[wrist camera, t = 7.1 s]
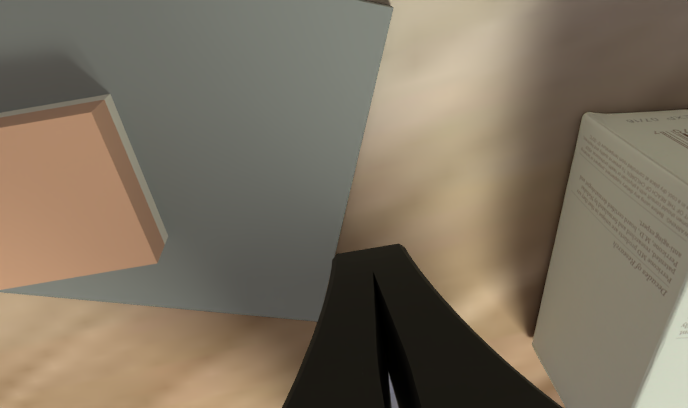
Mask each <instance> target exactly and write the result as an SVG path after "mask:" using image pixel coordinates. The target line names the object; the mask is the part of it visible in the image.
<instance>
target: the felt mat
mask: <svg viewBox="0 0 688 408" xmlns="http://www.w3.org/2000/svg"><path fill="white" fill-rule="evenodd" d="M392 12H393V7H392V6H390V5H385V4H380V3H375V2H370V1H365V0H0V113H2V112H7V111H13V110H19V109H25V108H31V107H36V106H42V105H48V104H54V103H60V102H65V101H71V100H77V99H83V98H89V97H94V96H100V95H106V94H111V97H112V99H113V102H114V104H115V107H116V109H117V112H118V114H119V117H120V119H121V121H122V124H123V126H124V129H125V131H126V134H127V136H128V139H129V141H130V144H131V146H132V148H133V151H134V153H135V156H136V158H137V161H138V163H139V166H140V168H141V170H142V173H143V175H144V178H145V180H146V183H147V185H148V188H149V190H150V193H151V195H152V197H153V200H154V202H155V205H156V207H157V210H158V212H159V215H160V217H161V220H162V222H163V224H164V227H165V229H166V232H167V234H168V238H167V241H166V243H165V246H164V248H163V251H162V253H161V256H160V258H159V261H158V263H157V264H151V265H145V266H139V267H133V268H127V269H121V270H115V271H109V272H103V273H98V274H92V275H86V276H80V277H74V278H68V279H62V280H56V281H50V282H44V283H39V284H33V285H27V286H21V287H15V288H9V289H3V290H0V292H4V293H15V294H26V295H36V296H47V297H58V298H69V299H79V300H90V301H101V302H112V303H123V304H133V305H144V306H155V307H166V308H176V309H187V310H198V311H209V312H220V313H230V314H241V315H252V316H263V317H273V318H284V319H295V320H306V321H316V322H318V319H319V316H320V313H321V310H322V307H323V303H324V299H325V295H326V291H327V286H328V282H329V278H330V274H331V268H332V259H333V258H334V257H335V253H336V248H337V244H338V240H339V236H340V231H341V227H342V223H343V219H344V214H345V210H346V206H347V202H348V198H349V193H350V189H351V185H352V181H353V176H354V172H355V168H356V164H357V160H358V155H359V151H360V147H361V143H362V138H363V134H364V130H365V126H366V121H367V117H368V113H369V109H370V105H371V100H372V96H373V92H374V88H375V83H376V79H377V75H378V71H379V67H380V62H381V58H382V54H383V50H384V45H385V41H386V37H387V33H388V28H389V24H390V20H391V16H392Z"/></svg>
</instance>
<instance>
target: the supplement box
mask: <svg viewBox="0 0 688 408" xmlns="http://www.w3.org/2000/svg"><path fill="white" fill-rule="evenodd" d="M532 346H533V348H534V350H535V352H536V354H537V356H538V358H539V360H540V362H541V363H542V365H543V367H544V369H545V371H546V372H547V374H548V376H549V378H550V380H551V382H552V383H553V385H554V387H555V389H556V391H557V392H558V394H559V396H560V398H561V400H562V401H563V403H564V405H565V407H566V408H688V109H684V110H669V111H653V112H634V113H614V114H603V113H593V112H587V113H585V114H584V115H583V116H582V120H581V125H580V129H579V134H578V139H577V144H576V148H575V153H574V158H573V162H572V165H571V170H570V175H569V179H568V183H567V188H566V193H565V197H564V202H563V207H562V211H561V216H560V220H559V225H558V229H557V233H556V238H555V243H554V247H553V252H552V256H551V260H550V265H549V269H548V273H547V278H546V283H545V287H544V292H543V297H542V301H541V306H540V310H539V315H538V319H537V324H536V328H535V333H534V337H533V342H532Z"/></svg>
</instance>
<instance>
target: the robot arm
mask: <svg viewBox="0 0 688 408" xmlns="http://www.w3.org/2000/svg"><path fill="white" fill-rule="evenodd" d="M282 408H562V407H561V406H560V405H559V404H557V403H556V402H555V401H553V400H552V399H551V398H550V397H548V396H547V395H546V394H544V393H543V392H542V391H541V390H539V389H538V388H537V387H536V386H534V385H533V384H532V383H531V382H530V381H528V380H527V379H526V378H525V377H524V376H522V375H521V374H520V373H519V372H518V371H517V370H515V369H514V368H513V367H512V366H511V365H510V364H509V363H507V362H506V361H505V360H504V359H503V358H502V357H501V356H500V355H499V354H497V353H496V352H495V351H494V350H493V349H492V348H491V347H490V346H489V345H488V344H487V343H486V342H485V341H484V340H483V339H482V338H481V337H480V336H479V335H478V334H477V333H475V332H474V331H473V330H472V329H471V328H470V326H469V325H468V324H467V323H466V322H465V321H464V320H463V319H462V318H461V317H460V316H459V315H458V314H457V313H456V312H455V311H454V310H453V308H452V307H451V306H450V305H449V304H448V303H447V302H446V301H445V300H444V299H443V297H442V296H441V295H440V294H439V293H438V292H437V291H436V289H435V288H434V287H433V286H432V285H431V283H430V282H429V281H428V280H427V278H426V277H425V276H424V275H423V273H422V272H421V271H420V269H419V268H418V267H417V265H416V264H415V263H414V261H413V260H412V258H411V257H410V255H409V254H408V252H407V250H406V249H405V247H403V246H402V245H400V244H394V245H388V246H382V247H376V248H370V249H364V250H359V251H353V252H347V253H341V254H337V255H336V256H335V257H334V258H333V259H332V268H331V274H330V279H329V284H328V288H327V292H326V296H325V300H324V303H323V307H322V310H321V313H320V316H319V319H318V322H317V325H316V328H315V331H314V334H313V337H312V340H311V342H310V345H309V347H308V350H307V352H306V355H305V357H304V359H303V362H302V364H301V367H300V369H299V372H298V374H297V377H296V379H295V381H294V383H293V385H292V388H291V390H290V392H289V394H288V396H287V398H286V400H285V403H284V405H283V407H282Z"/></svg>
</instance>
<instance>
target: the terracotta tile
mask: <svg viewBox="0 0 688 408" xmlns="http://www.w3.org/2000/svg"><path fill="white" fill-rule="evenodd" d="M167 238H168V234H167V232H166V229H165V227H164V224H163V222H162V220H161V217H160V215H159V212H158V210H157V207H156V205H155V202H154V200H153V197H152V195H151V193H150V190H149V188H148V185H147V183H146V180H145V178H144V175H143V173H142V170H141V168H140V166H139V163H138V161H137V158H136V156H135V153H134V151H133V148H132V146H131V144H130V141H129V139H128V136H127V134H126V131H125V129H124V126H123V124H122V121H121V119H120V117H119V114H118V112H117V109H116V107H115V104H114V102H113V99H112V97H111V94H106V95H100V96H94V97H89V98H83V99H77V100H71V101H65V102H60V103H54V104H48V105H42V106H36V107H31V108H25V109H19V110H13V111H7V112H2V113H0V290H3V289H9V288H15V287H21V286H27V285H33V284H39V283H44V282H50V281H56V280H62V279H68V278H74V277H80V276H86V275H92V274H98V273H103V272H109V271H115V270H121V269H127V268H133V267H139V266H145V265H151V264H157V263H158V261H159V258H160V256H161V253H162V251H163V248H164V246H165V243H166V241H167Z"/></svg>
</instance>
